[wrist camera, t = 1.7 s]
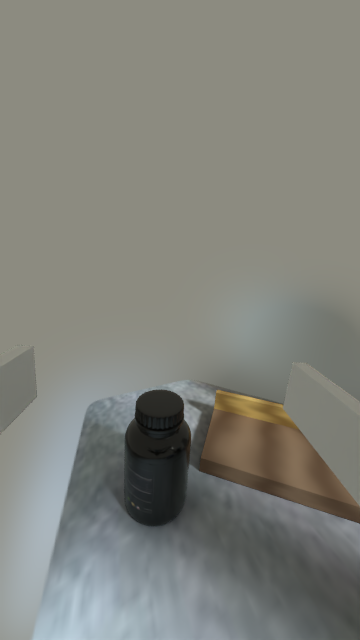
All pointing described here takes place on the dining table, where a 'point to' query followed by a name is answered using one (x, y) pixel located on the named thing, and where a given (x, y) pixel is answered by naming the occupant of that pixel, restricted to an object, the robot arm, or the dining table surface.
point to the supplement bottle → (156, 458)
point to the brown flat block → (271, 455)
